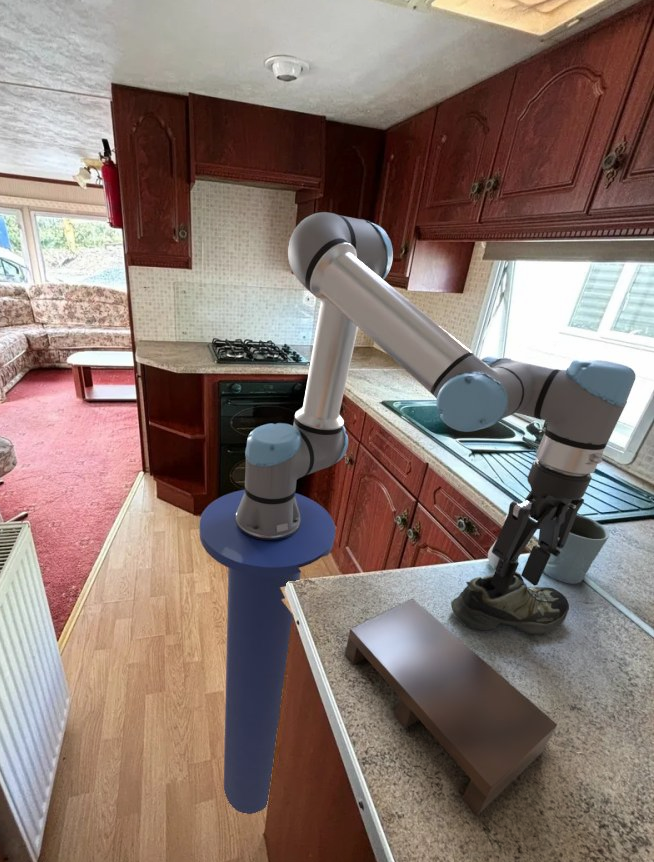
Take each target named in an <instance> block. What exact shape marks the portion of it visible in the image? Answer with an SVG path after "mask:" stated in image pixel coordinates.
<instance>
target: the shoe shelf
mask: <svg viewBox="0 0 654 862" xmlns="http://www.w3.org/2000/svg"><path fill="white" fill-rule="evenodd" d="M344 657H346V659H347V660H348V661H349V662H350V664H351V665H352V666H354V665H356V664H358V663H360V662H362V661H363V660H365V659H366V660H367V662H369V664H371V666H372V667H374V669H375V671H376V672H377V673H378V674H379V675H380V676H381V677H382V678H383V680H384V681H385V682H386V683H387V685H389V686H390V688H391V689H392V690H393V691H394V692H395V693H396V694H397V695H398V697H399V701H398V705H397V706H396V707H397V708H396V711H395V714H394V717H395V719H396V720H397V721H398V722H399V723H400V725H401V726H402V727H403V728H404V730H405V729H406V730H407V729H408V728H409V727H410V726H412V725H413V724H415V723H416V722H418V721H420V722H421V724H423V725H424V726H425V728H426V729H427V730H428V732H429V733H430V734H432V736H433V738H434V739H436V741H437V742H438V743H439V744H440V746H441V747H443V749H444V750H445V751H446V752H447V754H448V755H449V756H450V757H451V758H452V759H453V760H454V761H455V763H456V765H458V766H459V767H460V769H461V770H462V771H463V772H464V773H465V774H466V775H467V776H468V778H469V779H470V781H469V783H468V785H467V787H466V789H465V791H464V794H463V796H462V800H463V801H464V803H465V804H466V806H468V808H469V809H470V810H471V811H472V813H473V814H474V815H475V816H476V817H478V816H479V815H480V814H481V813H482V812H483V811H484V810H485V809H486V808H487V807H488V806H490V804H492V802H493V801H495V799H496V798H498V796H499V795H501V793H502V792H504V791H505V790H506V789H507V788H508V787H509V786H510V785H511V783H513V782H514V781H515V780H516V779H517V778H518V777H519V776H521V774H522V773H523V772H524V771H525V770H526V769H527V768H528V767H530V765H531V764H532V763H533V762H534V761H535V760H536V759H537V758H538V757H539V756H540V755H541V754H542V753H543V751H544V750H545V748H546V746H547V744H548V743H549V741H550V739H551V737H552V736H553V734H554V732H555V730H556V728H557V727H558V724H557V723H556V722H555V721H554V720H553V719H552V718H550V717H549V716H548V715H547V714H546V713H544V711H542V710H541V709H540V708H539V707H538V706H537V705H535V704H534V702H532V701H531V700H530V699H528V697H527V696H525V694H523V693H522V692H521V691H519V690H518V688H516V687H515V686H514V685H513V684H511V683H510V682H509V681H508V680H507V679H506V678H504V677H503V676H502V674H500V673H499V672H498V671H496V669H495V668H493V667H492V666H491V665H490V664H489V663H487V662H486V660H484V659H483V658H481V656H479V655H478V654H477V653H476V652H475V651H473V650H472V649H471V648H470V647H469V646H468V645H467V644H466V643H465V642H463V641H462V640H461V639H460V638H459V637H457V635H456V634H454V633H453V632H452V631H451V630H449V628H448V627H446V626H445V625H443V623H442V622H440V620H438V619H437V618H436V617H435V616H433V615H432V614H431V613H430V612H429V611H428V610H427V609H425V608H424V607H423V606H422V605H421V604H420V603H419V602H417V601H416V600H415V599H414V598H410V599H409V600H407V601H405V602H402V603H400V604H398V605H396V606H394V607H392V608H390V609H388V610H385V611H384V612H381V613H379V614H378V615H375V616H373V617H371V618H370V619H366V621H363V622H361V623H359V624H357V625H355V626H352V627H351V628H349V632H348V638H347V643H346V648H345V653H344Z"/></svg>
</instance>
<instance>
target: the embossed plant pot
mask: <svg viewBox="0 0 654 862" xmlns="http://www.w3.org/2000/svg"><path fill="white" fill-rule="evenodd" d="M609 538H610V532H609V531H608V529H606V527H604V526H603V525H602V524H601V523H600V522H598V521H595V520H594V519H592V518H589V517H587V516H584V515H582V514H578V513H577V515H576V517H575V520H574V522H573V525H572V528H571V530H570V533H569V535H568V538H567V541H566V543H565V546H564V547H563V548H561V549H560V548H558V547H557V548H556V549H557V550H558V551H560V554H559V555H558V556H556V557H555V556H554V555H553V554H550V555H551V556H550V558H549V560H548V562H547V564H546V567H545V569H544V571H543V573H545V575H547V576H549V577H550V578H552V579H555V580H557V581H559V582H562V583H566V584H575V585H576V584H579V583H581V582H582V581H583V580H584V578H585V577H586V574H587V573H588V571H589V570H590V568H591V566H592V564H593V562H594V561H595V560H596V558H597V556H598V555H599V553H600V552H601V550H602V548H603V547H604V546H605V544H606V542H607V541H608V539H609ZM558 539H560V538H559V537H558Z"/></svg>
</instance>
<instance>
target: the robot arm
mask: <svg viewBox="0 0 654 862" xmlns="http://www.w3.org/2000/svg"><path fill="white" fill-rule="evenodd" d="M290 235H291V236H290V238H289V242H288V248H287V258H288V263H289V266H290V268H291V271H292V273H293V274H294V276H295V278H296V279H297V280H298V282H299V283H300V284H301V285H302V286H303V287H304V288H305V289H306V290H307V291H308V292H310V293H311V294H312V295H313V297H315V298H317V299H319V300H320V304H319V305H320V306H319V310H318V317H317V322H316V328H315V334H314V340H313V346H312V350H311V351H312V352H311V356H310V358H311V359H310V363H309V369H308V375H307V381H306V388H305V393H304V398H303V404H302V407H300V408H299V409H298V410H296V411H295V414H294V418H293V425H292V424H289V423H285V422H284V423H283V422H277V423H273V422H272V423H266V424H263V425H260V426H257V427H256V428H254V429H253V430H252V431H250V433H249V434H248V437H247V440H246V447H245V451H244V453H245V473H244V474H245V475H244V476H245V477H244V490H245V493H244V495H243V498H242V500H241V503H240V505H239V507H238V510H237V513H236V525H237V528H238V529H239V530H240V531H241V532H242V533H243V534H244V535H246V536H248V537H250V538H253V539H256V540H260V541H280V540H284V539H287V538H289V537H291V536H293V535H294V534H295V533H296V532H297V531H298V530H299V527H300V513H299V509H298V505H297V502H296V498H295V493H296V489H297V480H299V479H300V478H303V477H305V476H308V475H311V474H313V473H316V472H319V471H321V470H324V469H327V468H329V467H332V466H333V465H335V464H336V463H338V462H339V461H341V460H342V459H343V458H344V456H345V455H346V453H347V451H348V448H349V447H348V446H349V435H348V434H347V429H346V427H345V425H344V423H345V419H344V418H343V417H342V416H341V414H340V412H341V407H342V403H343V397H344V393H345V389H346V384H347V380H348V376H349V370H350V366H351V362H352V357H353V353H354V348H355V344H356V339H357V334H358V329H359V330H360V331H362V332H363V333H364V335H366V336H368V338H370V339H371V340H372V341H373V342H374V343H375V344H376V345H377V346H378V347H379V348H380V349H382V350H383V351H384V352H385V353H386V354H387V355H388V356H390V358H391V359H392V360H394V362H396V363H397V364H398V365H399V366H400V367H401V368H403V369H404V370H405V371H406V372H407V373H408V374H409V375H410V376H411V377H413V378H414V379H415V380H416V381H417V382H418V383H419V384H420V385H421V386H422V387H424V389H426V390H427V391H428V392H429V393H430V394H431V395H432V396H433V397H434V398H435V399H436V409H437V412H438V414H439V418H440V419H441V420H442V421H443V423H444V424H445V425H447V426H448V427H449V428H451V429H452V430H455V431H458V432H463V433H470V432H475V431H479V430H483V429H486V428H490V427H492V426H493V425H495V424H498V423H499V422H501V420H503V419H505V418H508V417H510V416H512V415H514V414H519V415H522V416H526V417H530V418H533V419H536V420H539V421H540V420H541V421H546V422H547V426H546V427H545V430H544V433H543V435H542V438H541V440H540V442H539V445H538V448H537V449H536V450H537V451H536V453H535V457H536V459H534V460H533V462H532V465H531V467H530V470H529V472H528V475H527V478H526V479H527V483H528V484H529V486H530V489H531V490H530V491H529V493H528V494H527V496H526V497H525V499H524V501H522V502H520V503H519V502H518V501H515V500H513V501H511V502H510V504H509V506H508V513H507V514H508V516H507V518H506V520H505V519H504V521H505V522H504V521H503V522H504V523H503V525H502V527H501V529H500V531H499V534H498V535H497V538H496V540H495V541H496V542H495V541H494V543H495V545H494V547H493V549H492V553H493V554H494V555H496V556H497V557H498V558H499V561H498V564H497V566H496V569H495V570H494V573H493V574H494V575H493V574H492V575H493V578H492V580H491V583H490V584H492V585H493V586H494V587H495V588H496V589H497V590H498V591H500V592H501V593H502V594H507V591H508V589H509V586H510V584H511V581H512V579H513V577H514V574H515V572H517V569H518V567H519V564H520V562H519V561H518V562H517V561H516V560H517V559H518V560H519V558H520V556H521V554H522V553H523V551H524V550H525V548H526V547H527V545H528V544H529V542H530V541H531V540H532V538H533V536H534V534H535V533H536V532H537V531H538V530H539V532H538V540H537V545H532V547H531V550H530V553H529V555H528V557H527V560H526V562H525V565H524V567H523V569H522V571H521V574H520V575H521V577H522V578H524V580H526V581H527V582H528V583H530V584H531V585H533V587H536V586H538V585H539V582H540V580H541V577H542V576H543V573H544V572H543V571H544V569H545V567H546V564H547V562H548V560H549V558H550V556H551V555H550V554H553V555H554V556H555V557H556V556H558V555H559V554H560V551H558V550H557V549H556V548H557V547H558V548H560V549H561V548H563V547H564V546H565V543H566V541H567V538H568V535H569V533H570V530H571V528H572V525H573V522H574V520H575V517H576V515H577V514H578V512H579V510H580V509H581V507H582V506H583V504H584V502H585V499H584V496H585V494H586V492H587V490H588V487H589V485H590V483H591V480H592V478H593V477H592V474H593V473H595V471H596V469H597V467H598V465H600V464H601V463H602V461H603V458H602V456H603V453H604V451H605V448H606V447H607V445H608V443H609V441H610V439H611V437H612V435H613V432H614V430H615V428H616V426H617V424H618V422H619V420H620V418H621V415H622V414H623V412H624V410H625V407H626V405H627V403H628V399H629V396H630V394H631V391H632V388H633V386H634V384H635V381H636V372H635V371H634V370H633V368H631V367H629V366H627V365H624V364H621V363H617V362H612V361H607V360H599V359H592V358H576V359H574V360H573V361H572V362H571V363H570V364H569V367H567V368H566V369H558V368H553V367H547V366H542V365H536V364H532V363H528V362H523V361H518V360H514V359H512V358H509V357H508V358H507V357H504V358H502V357H496V356H485V357H483V358H482V359H481V358H480V357H478V356H477V355H475V354H474V353H473V351H471V350H470V349H469V348H468V347H467V346H465V345H464V344H463V343H462V342H460V341H459V340H458V339H457V338H455V337H454V335H452V334H451V333H449V332H448V331H447V330H445V329H444V328H443V327H442V326H440V325H439V324H438V323H437V322H436V321H435V320H433V318H431V317H430V316H429V315H427V314H426V313H425V312H424V311H422V310H421V309H420V308H418V307H417V306H416V305H415V304H414V303H413V302H412V301H410V300H409V299H408V298H406V297H405V296H404V295H403V294H402V293H400V291H398V290H397V289H395V288H394V287H393V286H392V285H391V284H389V283H388V282H387V281H386V280H385V279H386V278H387V276H388V274H389V272H390V270H391V267H392V265H393V258H394V251H393V245H392V241H391V238H390V237H389V235H388V234H387V231H386V230H385V229H384V228H383V227H382V226H380V225H378V224H377V223H373V222H372V221H370V220H366V219H364V218H355V217H350V216H345V215H340V214H336V213H334V212H327V211H324V212H323V211H322V212H317V213H313V214H311V215H309V216H307V217H305V218H304V219H303V220H301V221H300V222H299V223H298V224H297V226H296V227H295V228H294V230H293V232H292V234H290ZM558 537H559V538H560V539H558Z"/></svg>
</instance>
